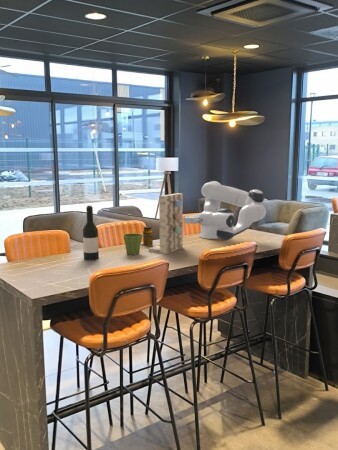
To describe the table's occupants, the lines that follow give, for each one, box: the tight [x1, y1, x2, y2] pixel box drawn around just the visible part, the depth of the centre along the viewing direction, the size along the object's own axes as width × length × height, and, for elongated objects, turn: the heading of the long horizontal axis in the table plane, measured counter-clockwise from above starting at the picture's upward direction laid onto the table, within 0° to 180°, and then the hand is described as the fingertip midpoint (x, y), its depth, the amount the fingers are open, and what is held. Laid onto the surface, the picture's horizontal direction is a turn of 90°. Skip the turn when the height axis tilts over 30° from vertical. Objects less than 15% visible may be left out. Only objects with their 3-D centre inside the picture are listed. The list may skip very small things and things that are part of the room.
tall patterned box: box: [148, 192, 184, 255], centre depth 265 cm, size 20×12×34 cm, turn 148°
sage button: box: [173, 226, 182, 234], centre depth 263 cm, size 4×6×4 cm
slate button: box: [173, 200, 182, 207], centre depth 260 cm, size 4×6×4 cm
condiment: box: [140, 225, 155, 248], centre depth 281 cm, size 7×8×12 cm
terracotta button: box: [173, 213, 182, 221], centre depth 261 cm, size 4×6×4 cm
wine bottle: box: [82, 205, 100, 261], centre depth 244 cm, size 8×8×30 cm
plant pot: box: [122, 232, 143, 256], centre depth 257 cm, size 12×12×11 cm
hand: (185, 217), depth 258 cm, fingers closed
